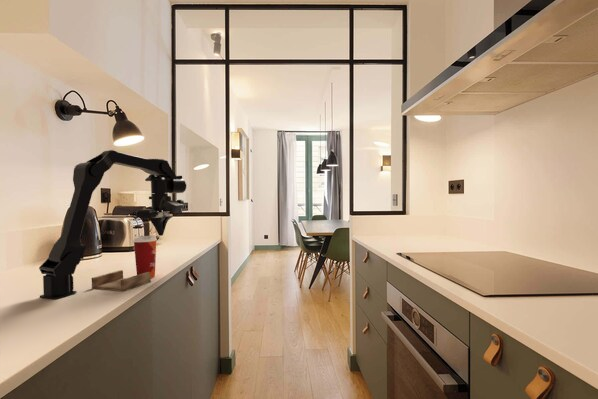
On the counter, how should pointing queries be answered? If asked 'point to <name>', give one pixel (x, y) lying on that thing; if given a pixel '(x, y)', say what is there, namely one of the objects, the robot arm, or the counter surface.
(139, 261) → the paper cup
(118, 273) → the u rest
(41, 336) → the counter surface
